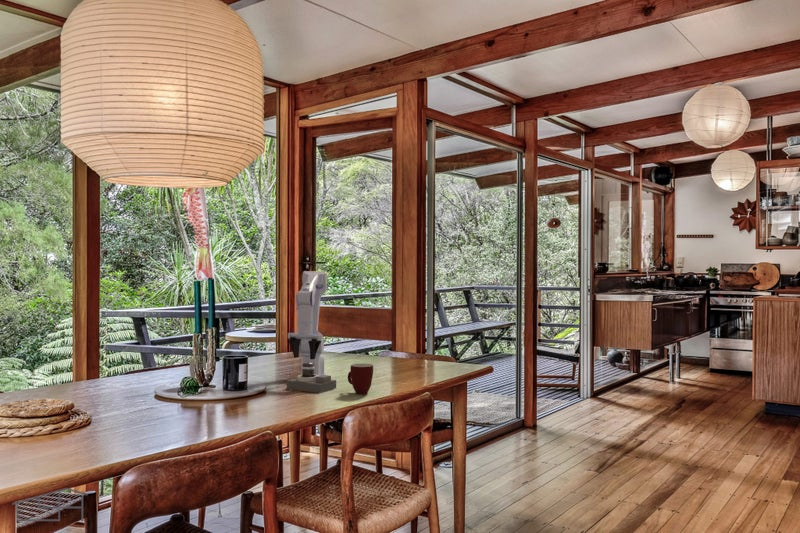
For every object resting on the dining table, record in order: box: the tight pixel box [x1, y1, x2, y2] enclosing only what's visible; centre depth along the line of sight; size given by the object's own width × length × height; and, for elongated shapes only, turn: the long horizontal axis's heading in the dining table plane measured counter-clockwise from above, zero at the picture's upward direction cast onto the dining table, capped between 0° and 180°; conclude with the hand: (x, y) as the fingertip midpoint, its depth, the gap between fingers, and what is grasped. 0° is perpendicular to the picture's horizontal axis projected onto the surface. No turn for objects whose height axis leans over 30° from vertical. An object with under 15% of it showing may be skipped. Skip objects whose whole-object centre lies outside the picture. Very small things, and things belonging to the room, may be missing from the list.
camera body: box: [286, 374, 337, 394], centre depth 231 cm, size 10×15×5 cm, turn 63°
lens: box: [301, 362, 315, 377], centre depth 231 cm, size 5×5×6 cm
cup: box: [188, 357, 207, 378], centre depth 233 cm, size 8×8×10 cm
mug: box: [347, 363, 374, 395], centre depth 224 cm, size 10×8×10 cm
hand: (304, 358), depth 238 cm, fingers open, 7 cm apart
